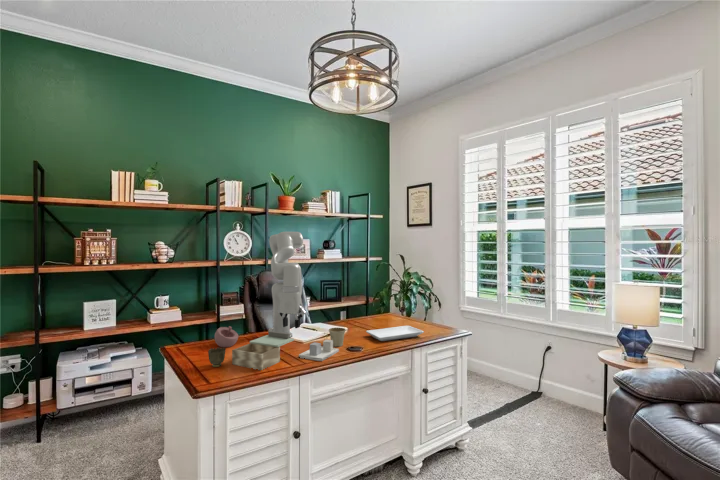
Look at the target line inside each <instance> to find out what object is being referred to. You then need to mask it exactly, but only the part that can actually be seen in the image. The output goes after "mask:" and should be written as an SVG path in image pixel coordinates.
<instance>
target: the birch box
mask: <svg viewBox="0 0 720 480" xmlns="http://www.w3.org/2000/svg"><path fill="white" fill-rule="evenodd" d="M231 350H232V351H231V365H234V366H239V367H244V368H248V369H251V368H253V369H252V370H256V369H258V370H257V371H261V370H262V371H264V370H266V369H268V368H271V367H272V366H274V365H276V364H278V363H280V362H281V346H280V347H273V346H266V345H260V344H253V343H247V344H245V345H242V346H239V347H237V348H234V349H231ZM267 367H268V368H267ZM265 368H266V369H265ZM263 369H264V370H263Z"/></svg>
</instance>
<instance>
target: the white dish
mask: <svg viewBox="0 0 720 480" xmlns="http://www.w3.org/2000/svg"><path fill="white" fill-rule="evenodd" d="M339 352H340V348H337V347H336V348H335V347H333V350H332V351H331V352H323V345H321V354H319V355H317V356H316V355H310V348H309V349H308V350H305V351H304V352H301V353H299V354H298V358H299V357H300V359H304V358H305V359H306V360H310V361H318V362H323V361H326V359H329V358H330V357H332V356H334V355H335V354H337V353H339Z"/></svg>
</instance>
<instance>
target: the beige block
mask: <svg viewBox="0 0 720 480" xmlns="http://www.w3.org/2000/svg"><path fill="white" fill-rule="evenodd" d="M322 347H323V352H331V351H332V350H333V348H334V346H333V340H331V339H324V340H323V342H322Z"/></svg>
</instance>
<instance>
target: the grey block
mask: <svg viewBox="0 0 720 480" xmlns="http://www.w3.org/2000/svg"><path fill="white" fill-rule="evenodd" d="M321 346H322V343H319V342H315V341H314V342H312V343H309V349H310V355H316V356H317V355H319V354H321Z"/></svg>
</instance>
